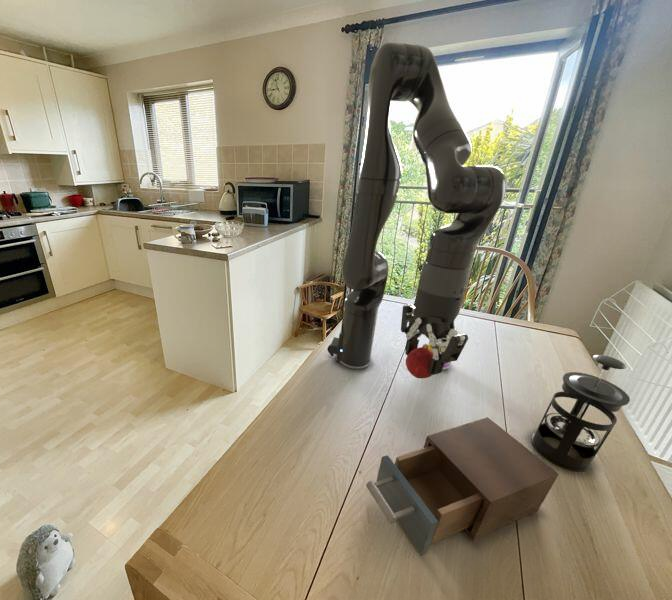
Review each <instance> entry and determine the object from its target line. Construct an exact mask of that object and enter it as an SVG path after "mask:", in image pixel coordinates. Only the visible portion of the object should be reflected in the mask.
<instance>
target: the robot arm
mask: <svg viewBox="0 0 672 600" xmlns="http://www.w3.org/2000/svg"><path fill="white" fill-rule="evenodd" d="M367 90H368V91H367V102H366V103H367V104H366V118H365V132H364V140H363V147H362V154H361V160H360V167H359V172H358V178H357V184H356V193H355V201H354V208H353V213H352V214H353V215H352V220H351V227H350V234H349V238H348V243H347V246H346V251H345V254H344V258H343V262H342V267H341V275H342V280H343V282H344V284H345V286H346V287H347V288H348V289H349V290H350V291H349V293H348V294H347V295H346V296H345V298H344V300H343V310H342V318H341V328H340V332H339V334H338V337H336V336H334V337H333V339H332V341H331V343H330V344H329V345H328V346H327V350H326V351H327V352H328V354H329V355H330V356H331V357H334V355H336V363H338V364H340V365H342V366H343V367H345V368H348V369H350V370H363V369H366V368H368V367H369V366H370V364H371V356H372V349H373V344H374V337H375V331H376V326H377V319H378V313H379V308H380V306H381V304H382V302H383V300H384V296H385V291H386V287H387V282H388V277H389V263H388V260H387V258H386V257H385V255H384V254H383V253H381V252H380V251H378V250H377V249H376V248H377V244H378V241H379V237H380V236H381V233H382V230H383V229H384V227H385V225H386V223H387V222H388V220H389V218H390V216H391V213H392V211H393V209H394V208H395V205H396V201H397V199H398V195H399V191H400V190H399V189H400V184H401V179H402V175H403V174H402V173H403V168H402V163H401V157H400V156H399V153H398V150H397V147H396V145H395V142H394V139H393V135H392V130H391V123H390V122H391V121H390V119H391V106H392V102H410V103H411V104H412V105H413V106H414V108H416V110H417V115H416V117H415V121H414V125H413V130H412V138H413V142H414V146H415V148H416V150H417V152H418V155H419V156H420V159H421V160H422V163H423V164H424V166H425V179H426V187H427V188H426V189H427V198H428V201H429V203H430V204H431V206H432V207H433V208H434V209H435V210H436V211H437V212H439V213H442V214H447V215H449V214H453V215H454V214H457V215H456V217H455V218H454V220H453V221H452V222H451V223H449V224H446V225H444V226H440V227H438V228H436V229H434V231H433V232H432V234H431V236H430V240H429V243H428V248H427V252H426V255H425V256H426V257H425V260H424V264H423V266H422V269H421V272H420V275H419V280H418V285H417V289H416V293H415V294H416V295H415V298H414V303H410V304H404V305H403V306H402V311H401V324H400V331H401V333H402V334H403V333H404V334H405V338H406V341H405V342H406V343H405V347H404V351H405V352H404V354H405V355H406V357H407V356H408V354H409V353H410V352H411V351H412V350H414V349H416V348H419V342H420V339H419V338H420V337H421V336H422V335H423V336H425V337H426V338H427V339H428V344H429V343H430V347H432V350H433V358H432V359H431V363H430V367H429V370H428V373H429V374H431V375H432V376H435V375H438V374H442V372H443V366H444V363H448V362H456V361H458V359H459V357H460V356H461V353H462V352H463V350H464V348H465V346H466V344H467V342H468V340H469V335H468V334H467V333H460V332H459V331H458V330H455V326H456V325H455V320H456V318H457V317H458V316H459V314H460V311H461V308H462V304H463V301H464V297H465V294H466V291H467V287H468V284H469V280H470V274H471V268H472V265H473V261H474V258H475V254H476V251H477V248H478V244H479V242H480V240H481V239H482V237H483V236H484V234H485V233H486V232H487V230H488V228H489V226H490V224H491V223H492V221H493V220H494V218H495V217H496V215H497V213H498V211H499V210H500V208H501V207H502V205H503V202H504V200H505V197H506V192H507V179H506V175H505V173H504V172H503V171H502V169H501V168H499V167H498V166H493V165H465V164H466V163H467V162H468V160H469V159H470V157H471V155H472V149H473V147H472V143H471V141H470V138H469V137H468V134H467V133H466V131H465V130H464V128H463V127H462V125H461V124H460V122H459V119H457V117H456V115H455V113H454V111H453V110H452V108H451V106H450V102H449V100H448V97H447V94H446V90H445V86H444V83H443V80H442V77H441V74H440V70H439V67H438V62H437V61H436V58H435V56H434V54H433V52H432V50H431V49H430V47H429V48H428V47H427V46H425V45H422V44H414V43H405V42H394V41H390V42H385V43H383V44H381V45H380V46H379V47H378V49H377V51H376V52H375V55H374V56H373V61H372V63H371V68H370V72H369V79H368V89H367ZM454 325H455V326H454ZM449 336H450V337H449ZM438 339H442V340H441V341H440V342H437V341H436V340H438ZM440 347H441V353H440V350H439V348H440Z"/></svg>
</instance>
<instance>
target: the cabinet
mask: <svg viewBox="0 0 672 600" xmlns="http://www.w3.org/2000/svg"><path fill="white" fill-rule="evenodd" d="M432 445H433V447H434V448H435V449H436V450H437V451H438V452H439V453H440V454H441V455H442V456H443V457H444V458H445V459H446V460H447V461H448V462H449V464H450V465H451V466H452V467H453V468H454V469H455V470H456V471H457V472H458V473H459V474H460V475H461V476H462V477H463V478H464V479H465V480H466V482H467V483H468V484H469V485H470V486H471V487H472V488H473V489H474V490H475V491H476V492H477V493H478V494H479V495H480V496H481V497H482V498H483V500H484V504H483V506H482V508H481V510H480V512H479V515H478V517H477V519H476V521H475V523H474V525H473V526H471V527H468V528H466V529H464V530H463V531H465V533H466V534H467V536H469V538H470V539H471V540H472V541H476V540H478V539H480V538H482V537H485V536H486V535H489V534H492V533H494V532H495V531H497V530H500V529H502V528H504V527H507V526H509V525H511V524H513V523H515V522H518V521H519V520H522V519H524V518H526V517H529V516H530V515H533V514H535V513H537V512H538V511H539V510H540V508H541V506H542V504H543V503H544V501H545V500H546V497H547V496H548V494H549V492H550V491H551V489H552V487H553V486H554V484H555V482H556V480H557V478H558V477H559V475H560V473H558V472H557V471H556V470H555V469H554V468H552V467H551V466H550V465H548V463H546V462H545V461H544V460H542V459H541V458H540V457H539V456H537V455H536V454H535V453H533V452H532V451H531V450H530V449H528V448H527V446H524V445H523V444H522V443H521V442H519V441H518V440H517V439H516V438H515V437H514V436H512V435H511V434H510V433H508V431H506V430H504V429H503V428H502V427H501V426H499V425H498V424H497V423H495V421H493V420H492V419H490V417H488V416H486V417H482V418H479V419H476V420H474V421H470V422H467V423H464V424H461V425H457V426H454V427H451V428H448V429H444V430H441V431H438V432H435V433H432V434H429V435H426V438H425V441H424V445H423V448H426V447H429V446H432Z"/></svg>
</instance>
